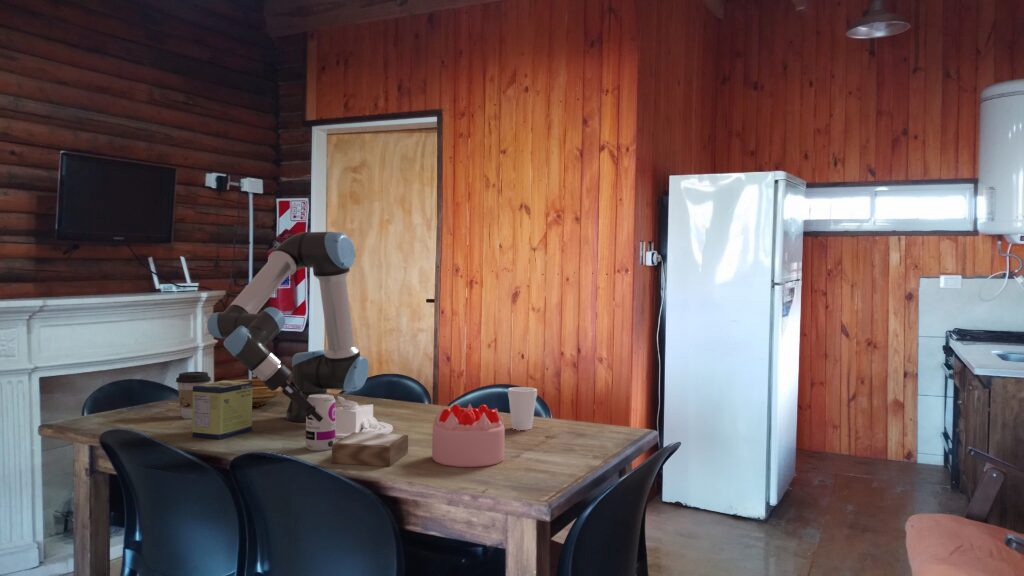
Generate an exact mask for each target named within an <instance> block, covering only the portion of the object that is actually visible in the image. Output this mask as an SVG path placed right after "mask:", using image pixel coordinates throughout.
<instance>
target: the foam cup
mask: <svg viewBox="0 0 1024 576" xmlns="http://www.w3.org/2000/svg"><path fill="white" fill-rule="evenodd" d="M507 396H508V400H509V401H508V402H509V413H510V420H511V429H512V428H513V429H512V430H514V429H516V430H515V431H520V430H525V431H527V430H526V429H531V428H532V427H533V423H534V415H535V409H536V402H537V397H538V388H534V387H530V386H529V387H525V386H517V387H516V386H514V387H509V388H508V389H507ZM531 430H532V429H531Z"/></svg>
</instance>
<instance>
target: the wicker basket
mask: <svg viewBox="0 0 1024 576" xmlns="http://www.w3.org/2000/svg"><path fill="white" fill-rule="evenodd" d="M232 381H243V382H253V383H252V406H256V407H260V406H259V405H262V406H264V405H263V404H265V405H266V403H267V402H268V401H270V400H272V399H275V398H277V396H278V395H280V393H281V392H282V390H283V388H282V387H278V389H276V390H275V391H271V390H270V389H269V388H268V387H267V386H266V385H265V384H264V380H263V381H261V380H260V379H259V378H255V379H254V378H253V379H250V378H249V379H235V380H232Z"/></svg>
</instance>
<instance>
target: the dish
mask: <svg viewBox="0 0 1024 576" xmlns="http://www.w3.org/2000/svg"><path fill="white" fill-rule="evenodd" d="M337 400H338V401H339V402H340V404H341V405H343V406H342V407H336V408H335V439H339V440H341V439H343V438H344V437H346V436H348V435H350V434H352V433H354V432H359V433H379V434H392V433H391V432H393V431H394V426H393V425H392V424H390V423H387V422H384V421H378V420H377V418H376V417H374V404H363V405H359V403H358V402H356V401H354V400H351V399H350V400H349V399H345V398H344V397H342V396H339V395H338V396H337Z"/></svg>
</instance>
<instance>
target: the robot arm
mask: <svg viewBox="0 0 1024 576" xmlns="http://www.w3.org/2000/svg"><path fill="white" fill-rule="evenodd" d="M355 258H356V249H355V246H354V243H353V241H352V239H351V238H350V237H349V236H348V234H346V233H343V232H337V231H313V232H312V231H311V232H310V231H302V232H298V233H296V234H294V235H292V236H290V237H289V238H287V239H285V240H284V241H282V242H281V243H280V244H278V246H276V247H275V248H274V249H273V250H272V251H271V253H270V254H269V255H268V261H267V262H266V263H265V264H264V265H263V266H262V267H261V269H260V270H259V271H258V273H256V275H255V276H254V277H253V278H252V279H251V280H250V282H249V283H247V284H246V286H245V287H244V288H243V290H241V292H240V293H239V294H238V295H237V296H236V297H235V299H234V300H233V301H232V302H231V303H230V305H228V307H227V308H226V309H225V310H224V311H219V312H214V313H212V314H210V315H209V317H208V319H207V324H206V326H207V327H206V328H207V331H208V333H209V334H210V336H211V337H213V338H218V339H223V340H224V341H223V346H224V347H225V349H226V350H227V351H228V352H229V353H230V355H231V356H232V357H234V358H235V359H236V360H237V361H239V362H240V363H241V364H242V365H243V366H244V367H245V368H247V370H249V371H250V372H251V373H252V377H253V378H256V377H257V378H256V379H260V380H261V381H263V380H264V384H265V385H266V386H267V387H268V388H269V389H270V390H271V391H275V390H276V389H278V387H282V389H281V392H282V393H283V395H284V396H286V397H287V398H288V399H290V401H289V404H288V406H287V410H286V413H285V414H286V415H285V417H286V421H290V422H296V423H297V422H298V423H306V417H307V418H308V417H309V416H310V417H311V418H312V419H313V420H314V421H315V422H316V423H317V424H319V425H320V426H321V427H322V428H323V429H324V430H325V431H327V430H328V429H329V428H330V427H331V426H332V425H333V424H332V423H331V422H330V421H329V420H328V419H327V418H326V417H325V416H324V415H323V414H322V413H321V412H320V411H319V410H318V409H315V407H314V406H312V405H311V404H310V403H309V402H308V401H307V399H308V397H309V396H310V395H315V394H328V391H327V390H334V391H345V392H355V391H358V390H360V389H362V387H363V386H364V385H365V383H366V381H367V379H368V376H369V371H370V370H369V368H370V367H369V366H370V365H369V361H368V359H367V357H365V356H363V355H361V351H360V348H359V347H358V346H357V345H355V340H354V334H353V333H354V332H353V326H352V325H353V324H352V316H351V307H350V301H349V293H348V285H347V275H348V274H349V273H350V268H351V267H352V266H353V265H354V263H355ZM305 268H309V269H311V268H312V274H313V277H315V278H316V279H318V281H319V283H318V284H319V288H320V295H321V296H320V298H321V304H322V305H321V306H322V312H323V318H324V327H325V333H326V335H325V336H326V341H327V349H322V350H313V351H304V352H297V353H295V354H294V355H292V360H291V361H292V362H291V369H290V368H288V367H287V366H286V365H285V364H284V363H282V362H281V360H280V359H279V358H278V357H277V356H276V355H275V354H274V353H273V352H271V350H269V349H268V347H267V346H268V345H270V343H271V342H272V341H273V340H274V339H275V338H276V337H277V335H279V334H280V333H281V331H282V330H283V328H284V327H285V325H286V317H285V316H284V313H283V312H282V311H280V309H278V308H276V307H272V306H269V307H268V306H267V307H266V308H264V309H263V310H262V311H261V309H262V307H263V306H264V305H265V304H266V303H267V302H268V300H269V299H270V298H271V296H273V294H274V293H275V292H276V291H277V290H278V289H279V287H280V286H281V285H282V283H284V281H285V280H286V279H287V277H288V276H293V275H294V274H295V273H296V271H298V270H300V269H305ZM259 311H260V313H258V312H259ZM290 376H291V381H290V380H289V378H290Z"/></svg>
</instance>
